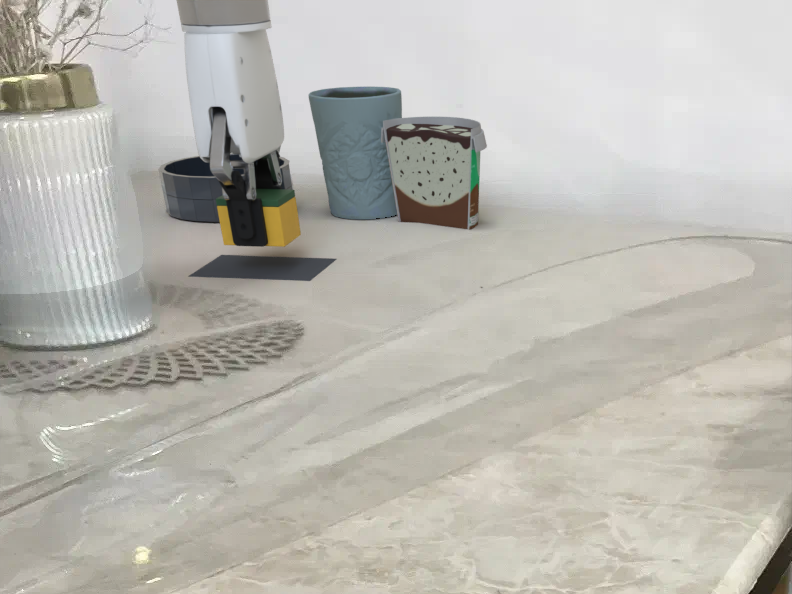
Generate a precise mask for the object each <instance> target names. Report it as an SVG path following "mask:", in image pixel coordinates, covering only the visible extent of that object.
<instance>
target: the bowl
mask: <svg viewBox="0 0 792 594" xmlns="http://www.w3.org/2000/svg"><path fill="white" fill-rule="evenodd" d="M279 159H280V161H279V167H280V171H281V175H282V184H281V185H276V186H282V189H286V190H295V189H294V183H293V175H292V167H291V161H290V160H289V159H288V158H286V157H283V156H280V157H279ZM230 160H243V159H242V157H240V156H239V154H233V153H230ZM256 163H257V160H256ZM233 170H234V171H239V172H240V174H241V176H242V177H243V179H244V169H233ZM158 174H159V175H158V176H159V179H160V184H161V190H162V195H163V199H164V200H163V201H164V205H165V209H166V213H167V214H168V215H169V216H171V217H173V218H177V219H178V220H179V219H180V220H183V221H184V220H185V221H191V222H203V223H205V222H207V223H208V222H209V223H210V222H211V223H220V221H219V215H218V210H217V204H216V198H218V197H220V196H222V195H223V193H222V186H221V185H220V183H219V181H218V179H217V178H216V177H215V176H214V175H213V173H212V172H211V170H210V163H208V162H204V161H203V160H202V159H201V158H200V157H199V155H195V156H188V157H183V158H179V159H175V160H171V161H168V162H165V163H164V164H161V165H160V166H159V168H158ZM244 180H245V179H244Z"/></svg>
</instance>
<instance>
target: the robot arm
mask: <svg viewBox="0 0 792 594" xmlns="http://www.w3.org/2000/svg"><path fill="white" fill-rule="evenodd" d="M176 5H177V11H178V16H179V21H180V26H181V31H182V32H184V33H183V37H184V39H183V40H184V41H183V42H184V60H185V61H184V62H185V74H186V82H187V91H188V99H189V105H190V106H189V107H190V113H191V120H192V126H193V132H194V139H195V144H196V149H197V154H198V156H199V157H200V158H201V159H202V160H203V161H204V162H208V163H210V170H211V172H212V173H213V175H214V176H215V177H216V178H217V179H218V181H219V183H220V185H221V186H222V193H223V197H224V199H225V200H226V204H227V209H228V215H229V221H230V226H231V232H232V237H233V242H234V244H235V245H234V246H236V247H261V248H262V247H263V248H264V247H266V246H265V245H267V244H268V238H267V232H266V225H265V219H264V213H263V207H262V201H261V199H260V198H256V189H282V186H276V185H281V184H282V175H281V171H280V167H279V161H280V159H279V157H281V155H280V151H281V147H282V144H284V141H285V126H284V118H283V117H284V116H283V109H282V102H281V97H280V91H279V86H278V79H277V74H276V69H275V63H274V59H273V55H272V50H271V46H270V42H269V41H270V40H269V37H268V31H267V30H269V29H272V28H273V26H272V20H271V13H270V5H269V0H176ZM230 153H233V154H239V156H240V157H242V159H243V160H230ZM256 160H257V163H256ZM233 169H244V179H245V180H244V179H243V177H242V176H241V174H240V172H239V171H234V170H233Z"/></svg>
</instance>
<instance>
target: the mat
mask: <svg viewBox="0 0 792 594" xmlns="http://www.w3.org/2000/svg"><path fill="white" fill-rule="evenodd" d="M337 260H338V258H331V257H330V258H327V257H299V256H274V255H273V256H272V255H270V256H269V255H244V254H243V255H240V254H238V255H237V254H220V255H219V256H217V257H216V258H214V259H212V260H211V261H209V262H208V263H206V264H205V265H202V266H201V267H200V268H199V269H197V270H195V271H193V272H192V273H191V274H189V275H188V276H187V277H189V278H212V279H213V278H217V279H218V278H219V279H242V280H269V281H299V282H311V281H312V280H313V279H314V278H316V277H318V276H319V275H320V274H321V273H322V272H323V271H325V270H326V269H327V268H328V267H329V266H331V265H332V264H333V263H335V262H336V261H337Z"/></svg>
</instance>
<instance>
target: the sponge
mask: <svg viewBox="0 0 792 594" xmlns="http://www.w3.org/2000/svg"><path fill="white" fill-rule="evenodd" d="M256 198H260V199H261V201H262V207H263V213H264V219H265V225H266V232H267V238H268V244H267V245H265V246H264V247H280V248H281V247H282V248H283V247H284V248H285V247H286V246H288V245H290V243H292V242H293V241H295V240H296V239H297V238H299V237H300V236H301V235H302V232H301V225H300V218H299V212H298V204H297V197H296V191H295V189H294V190H286V189H256ZM216 204H217V210H218V215H219V221H220V222H219V226H220V231H221V236H222V242H223V245H224V246H236V245H235V244H234V242H233V237H232V232H231V226H230V221H229V215H228V209H227V204H226V200H225V199H224V197H223V195H222V196H220V197H218V198H216Z"/></svg>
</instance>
